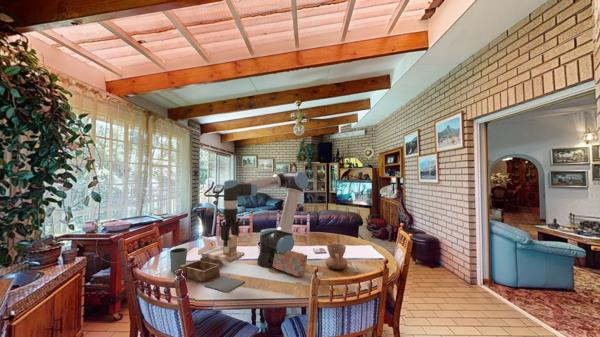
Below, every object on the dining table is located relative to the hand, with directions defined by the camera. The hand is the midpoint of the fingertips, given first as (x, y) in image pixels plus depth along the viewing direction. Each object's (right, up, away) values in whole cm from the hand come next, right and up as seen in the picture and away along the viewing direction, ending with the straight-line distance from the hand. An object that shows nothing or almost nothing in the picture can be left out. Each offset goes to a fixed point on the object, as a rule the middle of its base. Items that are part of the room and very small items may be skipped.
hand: (229, 251), depth 132 cm
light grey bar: (-19, -11, +29) cm, 36 cm away
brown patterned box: (+30, -19, +17) cm, 40 cm away
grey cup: (-39, -19, +22) cm, 49 cm away
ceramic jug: (+62, -20, +26) cm, 70 cm away
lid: (-3, -4, +1) cm, 5 cm away
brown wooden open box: (-18, -19, +18) cm, 32 cm away
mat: (-3, -19, +1) cm, 19 cm away
